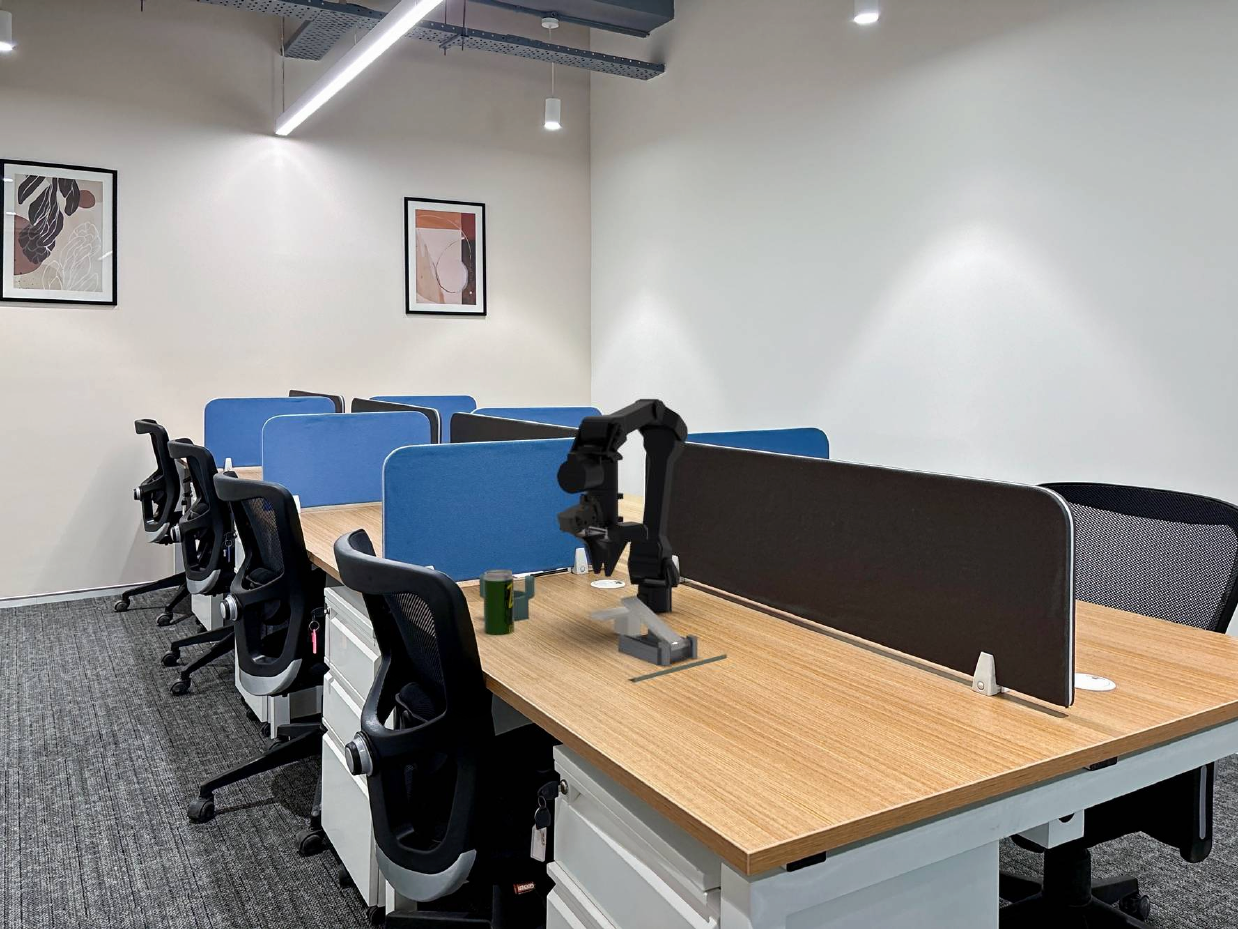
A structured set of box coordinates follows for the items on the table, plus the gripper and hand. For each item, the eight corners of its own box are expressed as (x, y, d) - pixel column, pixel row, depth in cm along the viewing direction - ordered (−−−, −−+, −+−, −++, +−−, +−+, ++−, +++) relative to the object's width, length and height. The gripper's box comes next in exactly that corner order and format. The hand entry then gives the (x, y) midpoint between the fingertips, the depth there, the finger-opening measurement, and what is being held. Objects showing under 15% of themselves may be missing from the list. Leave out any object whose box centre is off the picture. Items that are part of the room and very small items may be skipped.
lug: (627, 629, 169) (626, 605, 169) (641, 634, 166) (641, 609, 166) (589, 637, 164) (589, 612, 164) (603, 642, 161) (603, 617, 161)
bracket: (537, 622, 180) (537, 576, 179) (493, 628, 175) (493, 581, 175) (518, 612, 188) (518, 568, 187) (475, 618, 183) (475, 573, 182)
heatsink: (654, 643, 161) (654, 622, 161) (699, 658, 152) (699, 636, 152) (618, 652, 156) (618, 630, 156) (662, 668, 147) (662, 644, 147)
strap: (635, 600, 161) (637, 593, 161) (688, 649, 151) (691, 642, 151) (617, 604, 159) (619, 597, 158) (670, 653, 149) (672, 646, 148)
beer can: (484, 642, 166) (483, 576, 165) (484, 634, 171) (483, 569, 170) (514, 641, 167) (513, 575, 166) (513, 632, 172) (512, 568, 171)
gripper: (534, 486, 166) (535, 572, 167) (597, 496, 151) (598, 591, 153) (584, 482, 173) (585, 565, 174) (649, 491, 158) (649, 581, 160)
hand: (602, 575), depth 165 cm, fingers open, 3 cm apart
